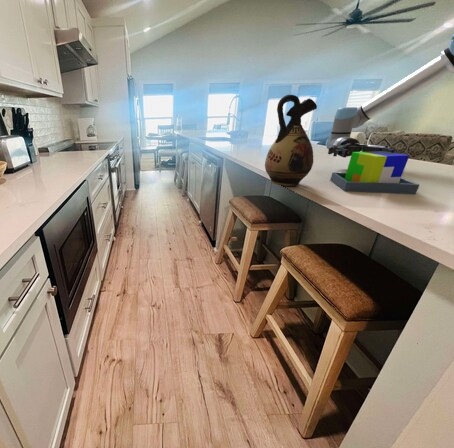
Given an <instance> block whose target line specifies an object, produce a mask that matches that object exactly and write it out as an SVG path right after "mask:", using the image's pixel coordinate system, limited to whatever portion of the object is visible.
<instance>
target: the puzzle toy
mask: <svg viewBox="0 0 454 448" xmlns="http://www.w3.org/2000/svg"><path fill="white" fill-rule="evenodd" d="M409 158H410V155H409V154H403V153H399V152H397V153H396V152H394V153H391V152H385V151H369V152H362V151H360V152H352V155H351V156H350V159H349V163H348V166H347V169H346V172H345V173H346V176H345V180H347V181H348V182H371V183H399V181H400V179H401V177H402V176H403V174H404V170H405V168H406V166H407V163H408V160H409Z"/></svg>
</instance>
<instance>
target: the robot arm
mask: <svg viewBox="0 0 454 448" xmlns="http://www.w3.org/2000/svg"><path fill="white" fill-rule="evenodd" d="M453 73H454V34H453V35H452V36H451V38H450V41H449V46H448V47H447V48H445V49H444V50H442V51H441V53H440V55H439V56H438V57H436V58H434V59H433V60H431V61H430V62H427V64H425V65H424V66H422V67H420V68H419V69H417V70H416V71H414V72H412V73H411V74H409V75H408V76H406V77H404V78H403V79H401V80H400V81H398V82H397V83H394V84H393V85H391V86H390V87H389V88H387V89H385V90H384V91H383V92H381V93H379V94H378V95H376V96H375V97H373V98H371V99H370V100H368V101H367V102H365V103H364V104H362V105H361V106H359V107H357V106H345V107H338V108H337V109H336V111H335V115H334V119H333V123H332V128H331V132H330V136H329V137H328V138H327V139H326V142H325V147H326V149H327V150H328V151H327V155H332V157H338V156H339V157H341V158H347V157H351V155H352V152H369V151H385V152H391V153H395V149H393V147H392V146H389V145H385V146H384V145H383V146H381V145H374V144H362V143H360V141H359V140H358V139H357V138H354V137H351V135H352V132H353V129H357V128H359V127H361V126H363V125H364V124H365V123H367V122H368V121H370V120H372V119H373V118H375V117H377V116H379V115H380V114H382V113H384V112H386V111H388V110H389V109H391V108H392V107H394V106H396V105H398V104H399V103H401V102H403V101H405V100H407V99H408V98H410V97H411V96H414V95H415V94H417V93H418V92H420V91H422V90H424V89H425V88H427V87H429V86H431V85H432V84H434V83H436V82H438V81H440V80H441V79H443V78H444V77H446V76H448V75H450V74H453Z"/></svg>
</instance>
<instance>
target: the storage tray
mask: <svg viewBox="0 0 454 448" xmlns="http://www.w3.org/2000/svg"><path fill="white" fill-rule="evenodd" d="M345 176H346V172H331V176H330V181H331V182H332V183H333V184H334V185H336V186H337V187H338V188H340V189H341V190H342V191H344V192H355V193H356V192H357V193H380V194H401V195H403V194H404V195H405V194H406V195H417V192H418V189H419V188H420V184H419V183H417V182H415V181H412V180H409V179H407V178H404V177H402V176H401V179H400V181H399V183H371V182H348V181H347V180H345Z"/></svg>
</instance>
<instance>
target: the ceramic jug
mask: <svg viewBox="0 0 454 448" xmlns="http://www.w3.org/2000/svg"><path fill="white" fill-rule="evenodd" d="M289 102H292V103H293V106H292V107H291V108H289V110H288V111H287V112H286V114H285V115H284V105H285V104H286V103H289ZM317 108H318V105H317V103H316V102H315V101H314V100H313V99H312V98H310V97H308V98H307V99H304V100H303V101H302V102H301V101H300V98H299V97H298V95H295V94H286V95H284V96H282V97H281V98H280V99H279V101H278V103H277V108H276V113H277V118H278V124H279V131H278V133H277V137H276V139H275V140H274V141H273V143H272V144H271V146H270V147H269V149H268V151H267V154H266V157H265V160H264V169H265V172H266V174H267V175H268V177H269V179H270V183H271V184H274V185H278V186H281V187H298V186H300V183H301V181H302V180H303V179H305V177H306V176H307V175H308V174H309V173H310V172H311V170H312V168H313V165H314V150H313V145H312V142H311V140H310V138H309V136H308V134H307V132H306V131H305V129H304V127H303V125H302V117H303V116H304V115H306V114H308V113H310V112H313V111H315V110H317ZM285 116H287V117H290V119H289V121H288V123H287V124H286V121H285ZM259 185H261V184H259Z"/></svg>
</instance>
